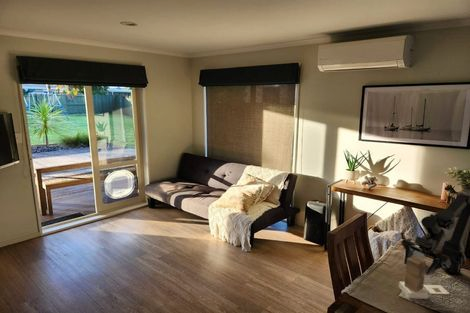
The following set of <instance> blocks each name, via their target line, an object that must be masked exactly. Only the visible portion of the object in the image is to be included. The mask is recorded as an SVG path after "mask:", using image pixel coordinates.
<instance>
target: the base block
mask: <svg viewBox="0 0 470 313" xmlns="http://www.w3.org/2000/svg"><path fill="white" fill-rule="evenodd" d="M404 285H405V281H399V282H398V288H399V289H400V290H401V291H402V292H403V293H404V295H405V296H406V297H407V298H408V299H426V300H427V299H428V298H429V292H428V291H427V290H426V289H425V288H424V287H423V289H421V290H419V291H417V292H415V291H413V290H411V289H409V288H408V287H406V286H404Z"/></svg>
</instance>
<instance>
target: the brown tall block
mask: <svg viewBox="0 0 470 313" xmlns="http://www.w3.org/2000/svg"><path fill="white" fill-rule="evenodd" d="M426 263H427V261H426V260H425V259H424V260H423V259H421V258H419V257H416V256H412V257H410V258H407V264H406V267H405V276H404V282H405V285H404V286H406V287H408V288H409V289H411V290H413V291H415V292H417V291H419V290H421V289H423V288H424V287H423V285H424V281H425V275H426V273H425V271H426Z"/></svg>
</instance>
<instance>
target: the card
mask: <svg viewBox="0 0 470 313" xmlns="http://www.w3.org/2000/svg"><path fill="white" fill-rule="evenodd" d="M423 286H424V287H425V288H424V287H423V288H424V289H425V290H426V291H427V292H428V294H430V295H450V292H449V291H448V290H446V289H445V288H444V286H442V284H423Z"/></svg>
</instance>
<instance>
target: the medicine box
mask: <svg viewBox="0 0 470 313" xmlns="http://www.w3.org/2000/svg"><path fill="white" fill-rule="evenodd" d="M414 245H415V246H417V247H419V246H418V245H417V244H414ZM413 253H414V254H413V255H412V256H416V257H419V258H421V259H423V260H425V256H426V255H425V254H422V253H420V252H418V251H413ZM403 261H405V251H404V254H403Z"/></svg>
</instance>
